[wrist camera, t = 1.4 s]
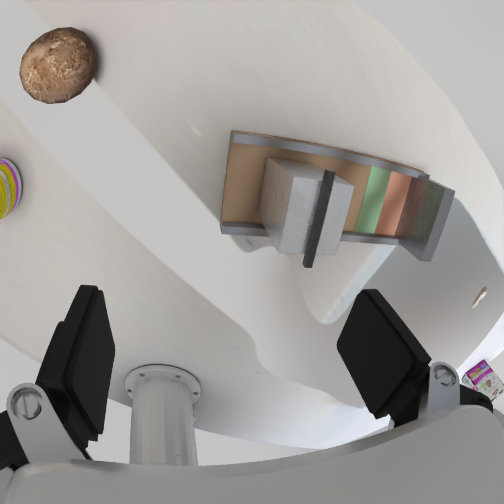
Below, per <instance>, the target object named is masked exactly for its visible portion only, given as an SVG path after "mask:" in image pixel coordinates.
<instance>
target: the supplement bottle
mask: <svg viewBox="0 0 504 504" xmlns="http://www.w3.org/2000/svg"><path fill="white" fill-rule="evenodd" d="M21 189H22V187H21V179H20V175H19V173H18V170H17V169H16V167H15V166H14V164H13V163H12V162H10V161H9V160H7V159H4V158H0V220H1V219H2V218H4V217H5V216H6V215H7V214H9V213H10V212H11V211H12V210H14V208H15V207H16V206H17V204H18V202H19V200H20V197H21Z"/></svg>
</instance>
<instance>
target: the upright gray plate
mask: <svg viewBox="0 0 504 504" xmlns="http://www.w3.org/2000/svg"><path fill="white" fill-rule="evenodd" d="M454 194H455V191H454V190H452V189H450V188H448V187H446V186H444V185H442V184H440V183H438V182H436V181H434V180H431V179H429V178H426V177H423V176H420V175H418V178H415V177H412V178H411V182H410V186H409V189H408V193H407V196H406V200H405V203H404V206H403V210H402V213H401V216H400V219H399V223H398V226H397V229H396V232H395V235H394V236H395V237H396V238H398V239H399V241H398V243H399V244H401V245H402V246H403V247H404V248H405V249H407V250H408V251H409V252H410V253H411V254H413V255H414V256H415V257H416V258H417V259H418V260H420V261H431V259H432V257H433V254H434V252H435V249H436V247H437V244H438V242H439V239H440V236H441V233H442V231H443V228H444V225H445V222H446V219H447V216H448V213H449V210H450V207H451V204H452V201H453V197H454Z"/></svg>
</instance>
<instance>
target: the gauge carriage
mask: <svg viewBox="0 0 504 504" xmlns="http://www.w3.org/2000/svg"><path fill="white" fill-rule="evenodd" d="M335 173H336V172H334V171H333V170H328V169H324V168H322V167H320V166H318V165H316V164H313V163H307V162H300V161H294V160H287V159H280V158H273V157H267V161H266V167H265V173H264V179H263V185H262V191H261V198H260V204H259V210H258V216H259V218H260V220H261V222H262V224H263V225H264V227H265V229H266V231H267V233H268V234H269V236H270V238H271V240H272V242H273V243H274V245H275V247H276V249H277V251H278V252H279V253H294V254H305V256H304V260H303V263H302V264H303V265H304V267H305V268H312V265H313V261H314V258H315V254H317V255H336V251H337V248H338V245H339V241H340V238H341V234H342V231H343V227H344V224H345V220H346V216H347V213H348V209H349V205H350V201H351V197H352V193H353V189H354V186H353V185H352V184H350V183H348V182H346V181H345V180H343V179H341V178H340V177H338V176H336V175H335Z"/></svg>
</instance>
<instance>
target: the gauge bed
mask: <svg viewBox="0 0 504 504" xmlns="http://www.w3.org/2000/svg"><path fill="white" fill-rule="evenodd" d="M267 157H273V158H280V159H287V160H294V161H300V162H307V163H313V164H316V165H318V166H320V167H322V168H324V169H328V170H333V171H334V172H336V173H335V175H336V176H338V177H340V178H341V179H343V180H345V181H346V182H348V183H350V184H352V185H353V186H354V189H353V193H352V197H351V201H350V205H349V209H348V213H347V216H346V220H345V224H344V227H343V231H342V234H341V238H340V241H348V242H362V243H375V244H389V245H401V244H399V243H398V241H399V239H398V238H396V237H395V236H394V235H395V232H396V229H397V226H398V223H399V219H400V216H401V213H402V210H403V206H404V203H405V200H406V196H407V193H408V189H409V186H410V182H411V178H412V177H415V178H418V175H420V176H423V177H426V178H429V176H430V175H428V174H426V173H424V172H423V171H421V170H418V169H415V168H412V167H409V166H405V165H402V164H399V163H395V162H392V161H388V160H385V159H381V158H377V157H373V156H370V155H366V154H362V153H358V152H353V151H349V150H345V149H340V148H336V147H331V146H326V145H322V144H317V143H311V142H306V141H301V140H295V139H289V138H283V137H277V136H270V135H263V134H256V133H248V132H240V131H231V139H230V146H229V153H228V161H227V169H226V177H225V185H224V193H223V201H222V210H221V219H220V228H221V232H222V234H233V235H252V236H269V234H268V233H267V231H266V229H265V227H264V225H263V224H262V222H261V220H260V218H259V216H258V210H259V204H260V198H261V191H262V185H263V179H264V173H265V167H266V161H267ZM269 237H270V236H269Z"/></svg>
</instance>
